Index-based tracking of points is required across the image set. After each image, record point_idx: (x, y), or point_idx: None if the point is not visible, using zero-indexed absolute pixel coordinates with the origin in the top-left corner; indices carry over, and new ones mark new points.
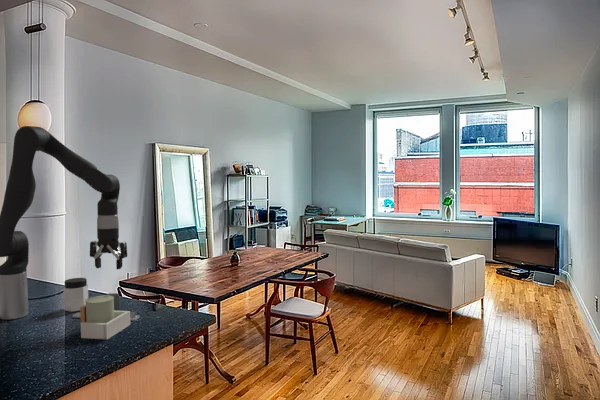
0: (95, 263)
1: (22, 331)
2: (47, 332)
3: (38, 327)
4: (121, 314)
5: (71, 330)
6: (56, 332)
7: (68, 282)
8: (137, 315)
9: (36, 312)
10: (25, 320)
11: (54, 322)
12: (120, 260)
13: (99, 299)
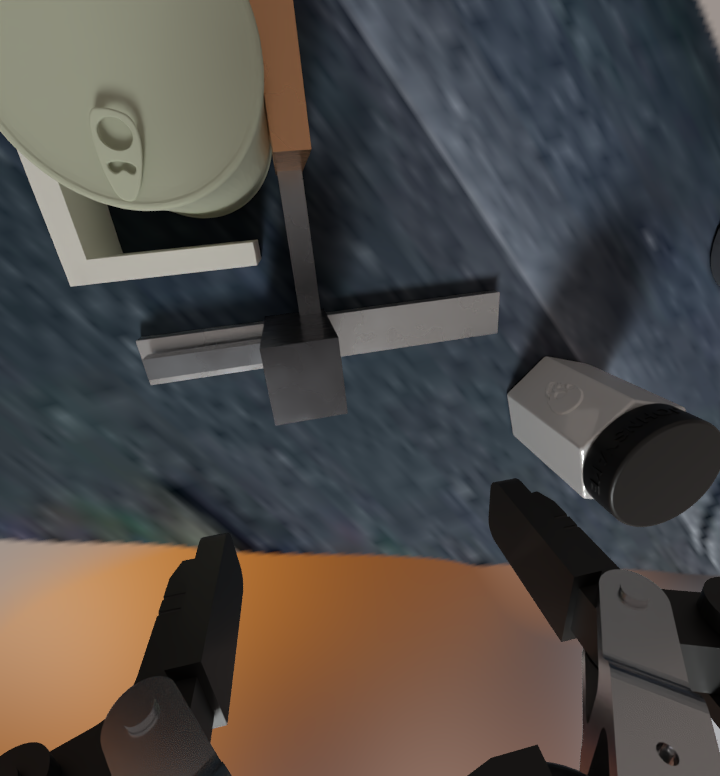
0: (564, 522)
1: (617, 25)
2: (477, 36)
3: (571, 109)
4: (62, 201)
5: (367, 101)
6: (428, 47)
7: (687, 421)
8: (158, 379)
9: (688, 307)
10: (684, 196)
11: (536, 203)
12: (137, 681)
13: (107, 36)
